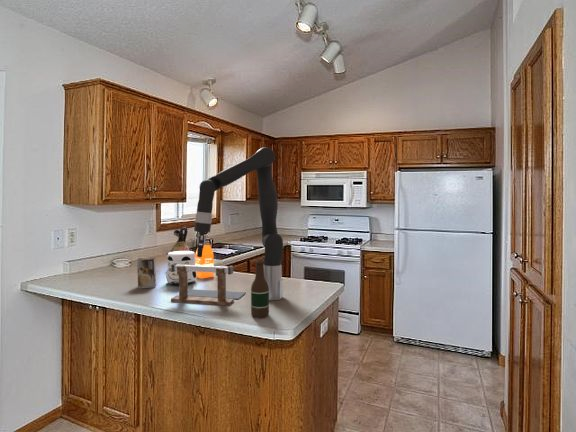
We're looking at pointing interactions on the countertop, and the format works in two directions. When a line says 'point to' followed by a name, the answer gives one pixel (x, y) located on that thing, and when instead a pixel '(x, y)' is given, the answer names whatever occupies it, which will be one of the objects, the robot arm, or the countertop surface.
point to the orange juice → (205, 261)
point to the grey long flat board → (214, 294)
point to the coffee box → (146, 272)
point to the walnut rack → (202, 300)
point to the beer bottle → (259, 293)
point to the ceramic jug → (180, 240)
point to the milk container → (180, 259)
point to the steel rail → (202, 268)
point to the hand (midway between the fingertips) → (199, 255)
